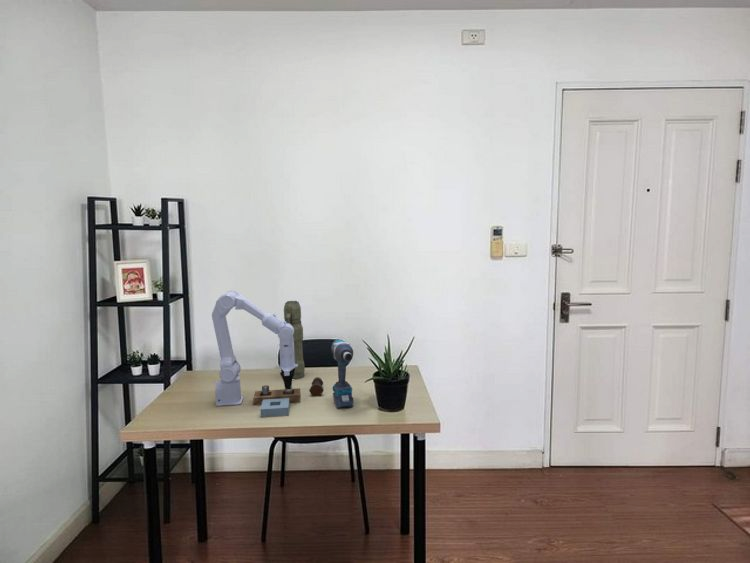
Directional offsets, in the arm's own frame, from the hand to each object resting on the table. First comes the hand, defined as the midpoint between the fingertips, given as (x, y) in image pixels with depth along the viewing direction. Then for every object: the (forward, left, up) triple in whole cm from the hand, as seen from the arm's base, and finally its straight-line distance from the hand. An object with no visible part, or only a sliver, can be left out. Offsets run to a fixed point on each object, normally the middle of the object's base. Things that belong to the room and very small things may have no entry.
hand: (288, 387), depth 196 cm
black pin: (-9, 0, -5) cm, 10 cm away
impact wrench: (+22, -11, -5) cm, 24 cm away
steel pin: (0, 0, -4) cm, 4 cm away
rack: (-4, 0, -5) cm, 7 cm away
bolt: (+12, +9, -5) cm, 16 cm away
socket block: (-4, -12, -5) cm, 13 cm away
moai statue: (+2, +29, -5) cm, 30 cm away
